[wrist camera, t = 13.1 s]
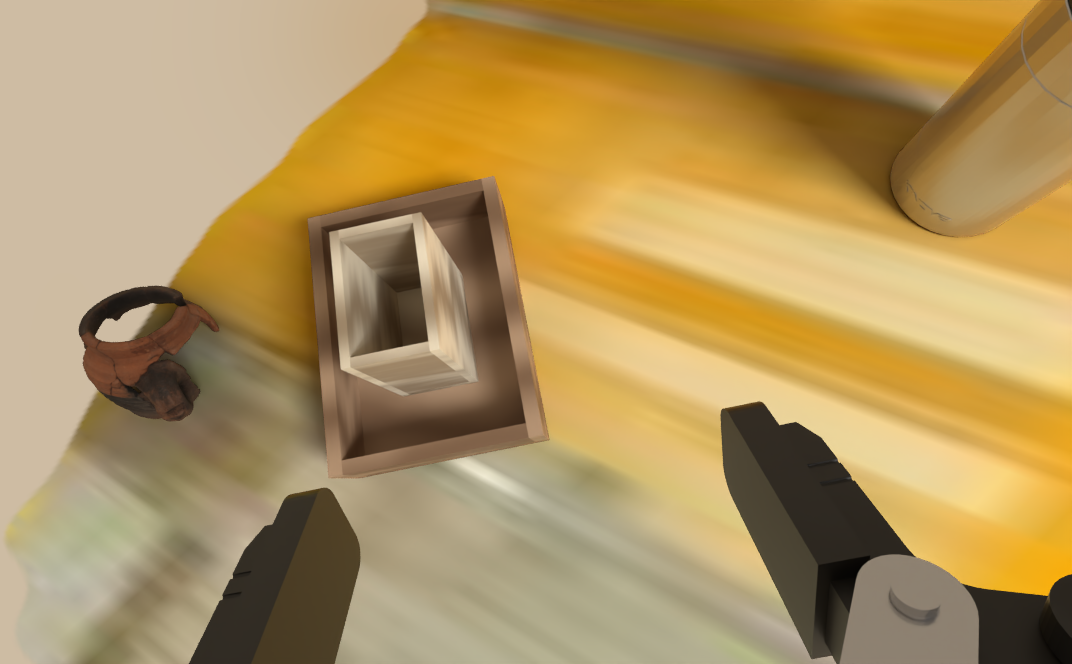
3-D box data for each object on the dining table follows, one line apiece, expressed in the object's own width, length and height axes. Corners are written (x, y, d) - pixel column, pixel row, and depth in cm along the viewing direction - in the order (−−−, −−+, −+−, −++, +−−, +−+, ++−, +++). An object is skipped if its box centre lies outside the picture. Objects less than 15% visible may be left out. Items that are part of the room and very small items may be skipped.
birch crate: (391, 289, 45) (329, 232, 35) (462, 274, 45) (420, 212, 34) (403, 396, 43) (340, 369, 32) (478, 381, 43) (439, 349, 32)
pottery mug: (101, 382, 47) (44, 312, 42) (213, 330, 52) (176, 261, 46) (151, 473, 42) (93, 408, 36) (271, 405, 46) (237, 338, 41)
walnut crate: (336, 244, 48) (307, 218, 43) (504, 206, 47) (493, 176, 42) (359, 478, 42) (328, 478, 38) (549, 439, 42) (543, 434, 37)
